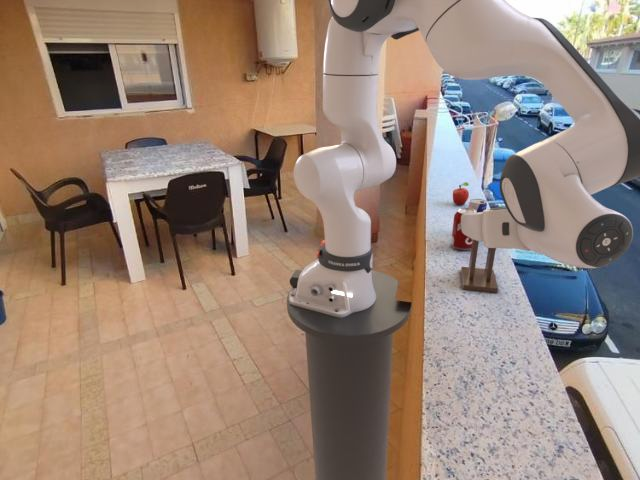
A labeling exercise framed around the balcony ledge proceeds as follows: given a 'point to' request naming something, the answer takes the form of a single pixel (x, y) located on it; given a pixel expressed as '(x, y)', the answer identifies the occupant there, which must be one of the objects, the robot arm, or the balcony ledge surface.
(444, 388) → the balcony ledge surface
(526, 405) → the balcony ledge surface
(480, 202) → the energy drink
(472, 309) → the balcony ledge surface
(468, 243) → the soda can
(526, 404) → the balcony ledge surface
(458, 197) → the apple
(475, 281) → the brown upright frame
